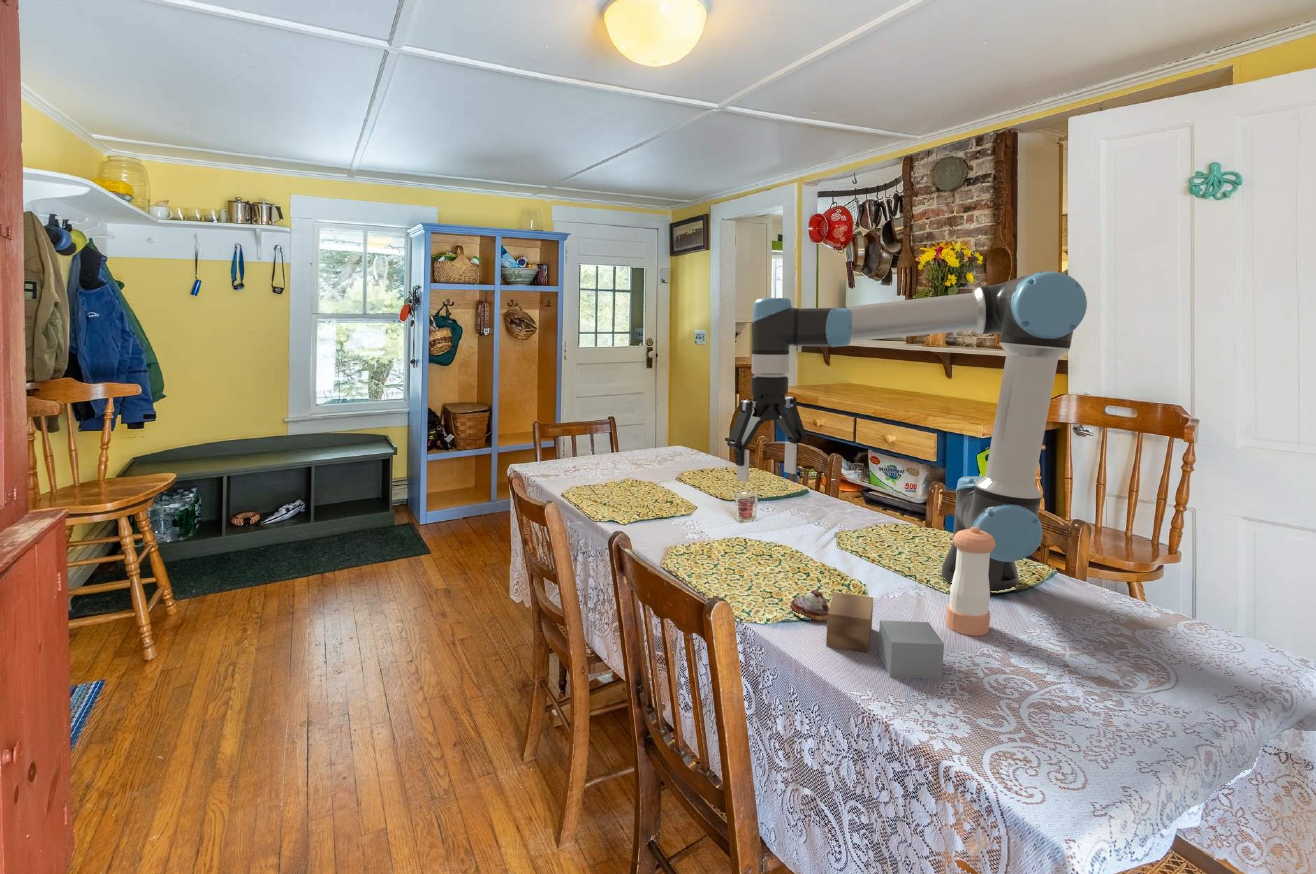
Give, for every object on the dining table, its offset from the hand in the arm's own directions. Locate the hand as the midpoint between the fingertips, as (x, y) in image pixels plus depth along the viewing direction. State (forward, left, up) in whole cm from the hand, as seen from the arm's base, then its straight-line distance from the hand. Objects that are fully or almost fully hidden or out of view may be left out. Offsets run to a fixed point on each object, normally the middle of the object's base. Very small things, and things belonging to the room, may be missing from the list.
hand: (766, 476), depth 142 cm
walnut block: (-20, +19, -24) cm, 36 cm away
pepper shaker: (-40, +7, -24) cm, 47 cm away
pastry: (-11, +12, -24) cm, 29 cm away
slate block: (-30, +26, -24) cm, 46 cm away
